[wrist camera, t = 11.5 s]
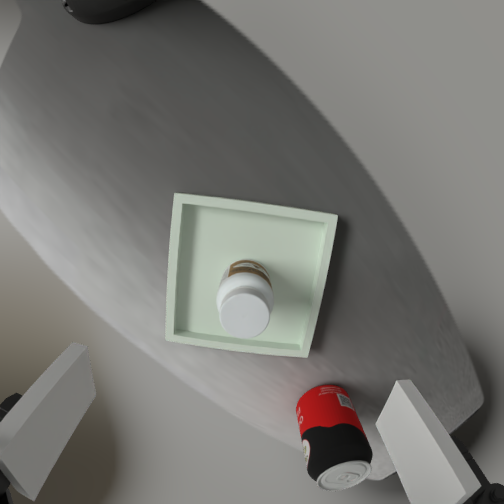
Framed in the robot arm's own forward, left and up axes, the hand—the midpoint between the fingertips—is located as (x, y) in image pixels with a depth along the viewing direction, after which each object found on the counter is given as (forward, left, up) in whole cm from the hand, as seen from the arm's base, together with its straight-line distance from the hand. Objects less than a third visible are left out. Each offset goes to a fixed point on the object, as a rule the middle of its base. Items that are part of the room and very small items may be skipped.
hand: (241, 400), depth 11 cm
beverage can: (+14, +11, -18) cm, 25 cm away
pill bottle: (0, 0, -17) cm, 17 cm away
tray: (0, 0, -17) cm, 17 cm away
